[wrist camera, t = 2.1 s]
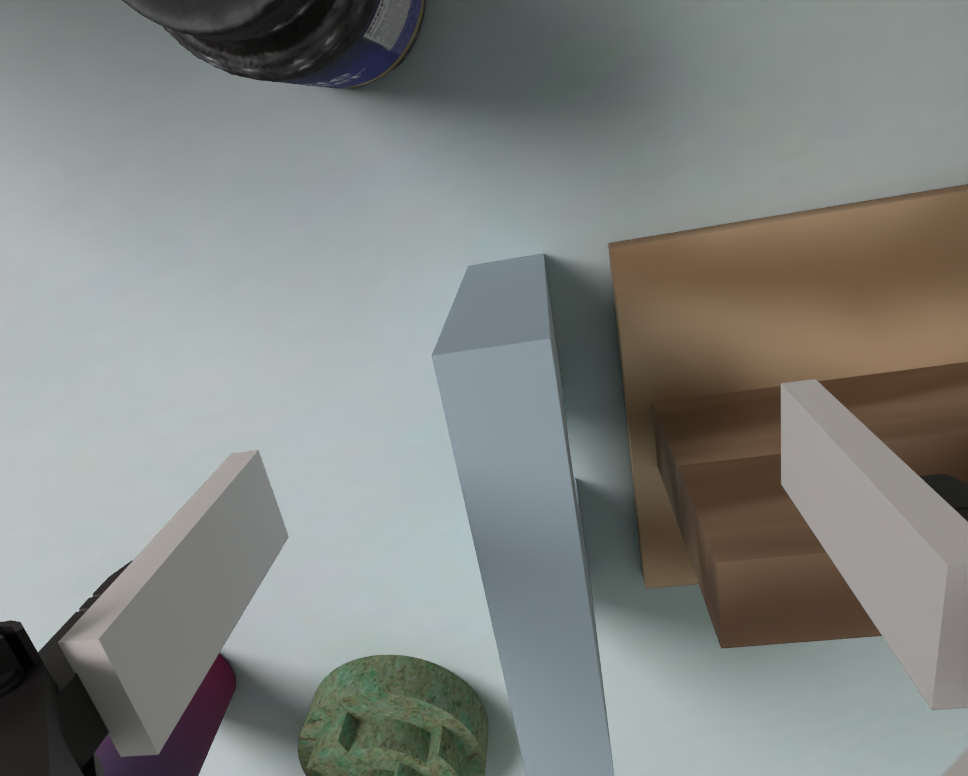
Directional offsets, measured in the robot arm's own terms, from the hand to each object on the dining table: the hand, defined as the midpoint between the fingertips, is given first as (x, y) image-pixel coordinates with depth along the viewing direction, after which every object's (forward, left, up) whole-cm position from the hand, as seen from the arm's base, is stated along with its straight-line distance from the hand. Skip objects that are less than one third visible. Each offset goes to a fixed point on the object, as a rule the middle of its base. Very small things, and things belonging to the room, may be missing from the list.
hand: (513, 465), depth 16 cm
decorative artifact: (+22, -10, -11) cm, 27 cm away
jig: (+5, +12, -11) cm, 17 cm away
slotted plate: (+5, 0, -11) cm, 12 cm away
